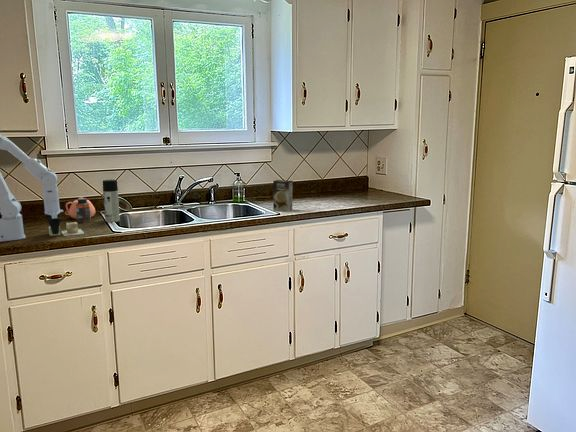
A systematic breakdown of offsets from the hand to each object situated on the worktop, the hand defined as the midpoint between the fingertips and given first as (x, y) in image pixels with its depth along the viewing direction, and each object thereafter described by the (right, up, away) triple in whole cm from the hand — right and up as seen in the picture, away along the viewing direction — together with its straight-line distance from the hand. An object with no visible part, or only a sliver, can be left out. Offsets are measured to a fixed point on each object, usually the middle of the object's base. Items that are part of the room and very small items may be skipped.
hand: (54, 232), depth 204 cm
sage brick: (0, -2, 0) cm, 2 cm away
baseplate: (+6, -1, +4) cm, 7 cm away
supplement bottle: (+1, +4, +27) cm, 28 cm away
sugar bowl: (-5, +6, +36) cm, 37 cm away
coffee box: (+97, +10, +56) cm, 112 cm away
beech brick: (+6, 0, +4) cm, 7 cm away
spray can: (+14, +4, +28) cm, 32 cm away
